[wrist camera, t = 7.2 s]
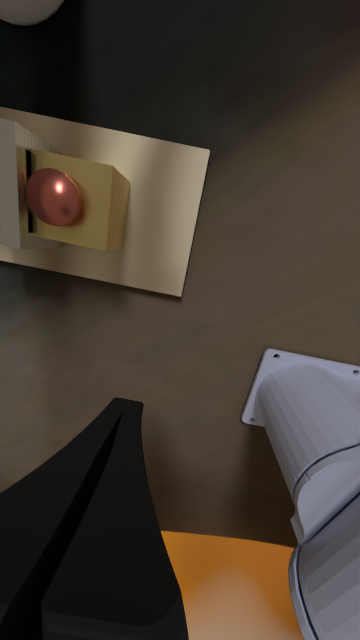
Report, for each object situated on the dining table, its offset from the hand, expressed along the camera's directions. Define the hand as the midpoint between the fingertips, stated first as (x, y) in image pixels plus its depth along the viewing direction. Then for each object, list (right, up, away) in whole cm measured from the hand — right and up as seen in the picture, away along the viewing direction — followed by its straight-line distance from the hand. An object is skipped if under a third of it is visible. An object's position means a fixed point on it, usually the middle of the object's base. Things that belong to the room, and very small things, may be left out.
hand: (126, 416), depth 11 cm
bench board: (-6, +13, +6) cm, 16 cm away
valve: (-5, +13, +6) cm, 15 cm away
